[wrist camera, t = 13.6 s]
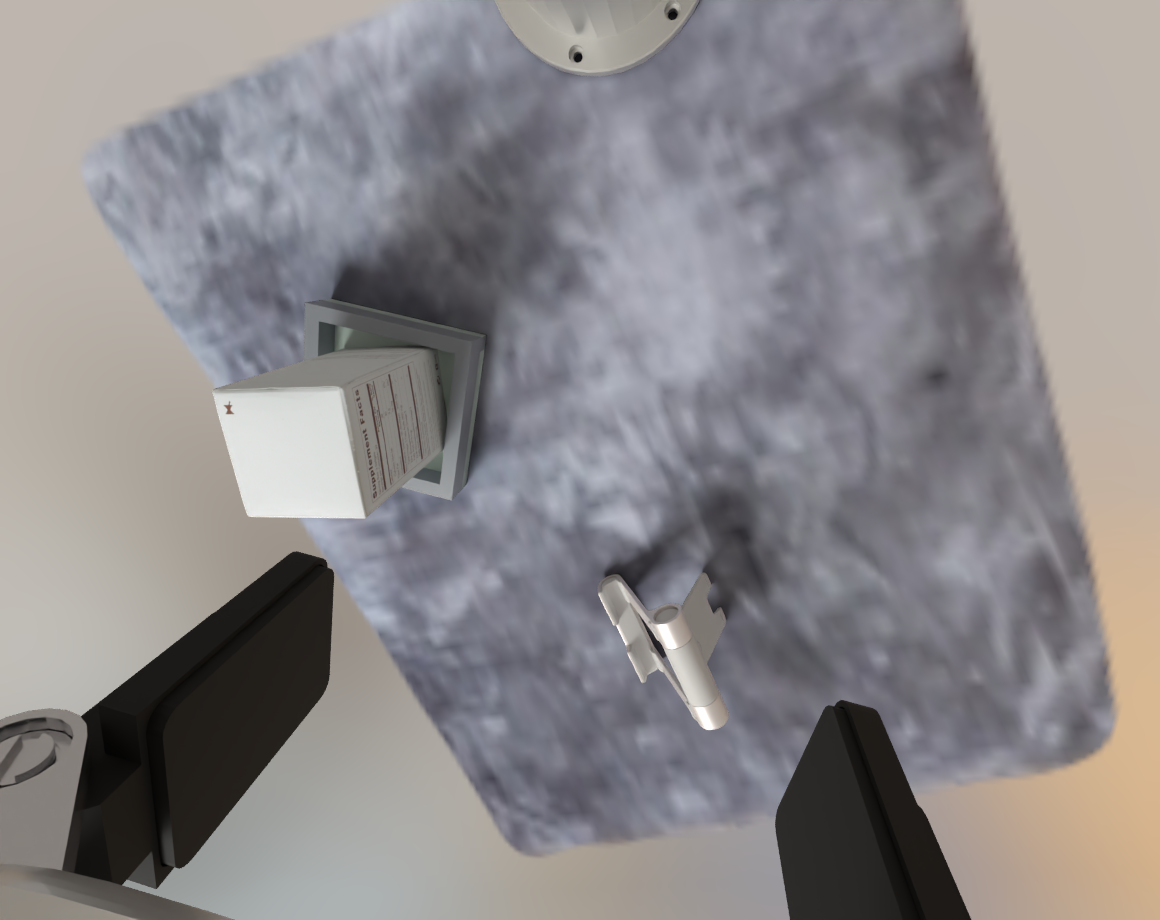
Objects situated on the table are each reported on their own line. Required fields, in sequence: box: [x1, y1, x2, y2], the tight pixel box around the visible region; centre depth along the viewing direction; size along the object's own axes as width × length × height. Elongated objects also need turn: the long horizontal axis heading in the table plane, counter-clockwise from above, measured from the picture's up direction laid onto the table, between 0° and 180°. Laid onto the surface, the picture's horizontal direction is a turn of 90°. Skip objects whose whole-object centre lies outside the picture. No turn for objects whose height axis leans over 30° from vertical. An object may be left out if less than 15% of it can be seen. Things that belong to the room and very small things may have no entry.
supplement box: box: [212, 345, 447, 519], centre depth 35 cm, size 7×7×13 cm
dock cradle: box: [304, 299, 487, 500], centre depth 41 cm, size 12×12×3 cm
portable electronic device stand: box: [598, 573, 729, 730], centre depth 41 cm, size 9×8×8 cm
